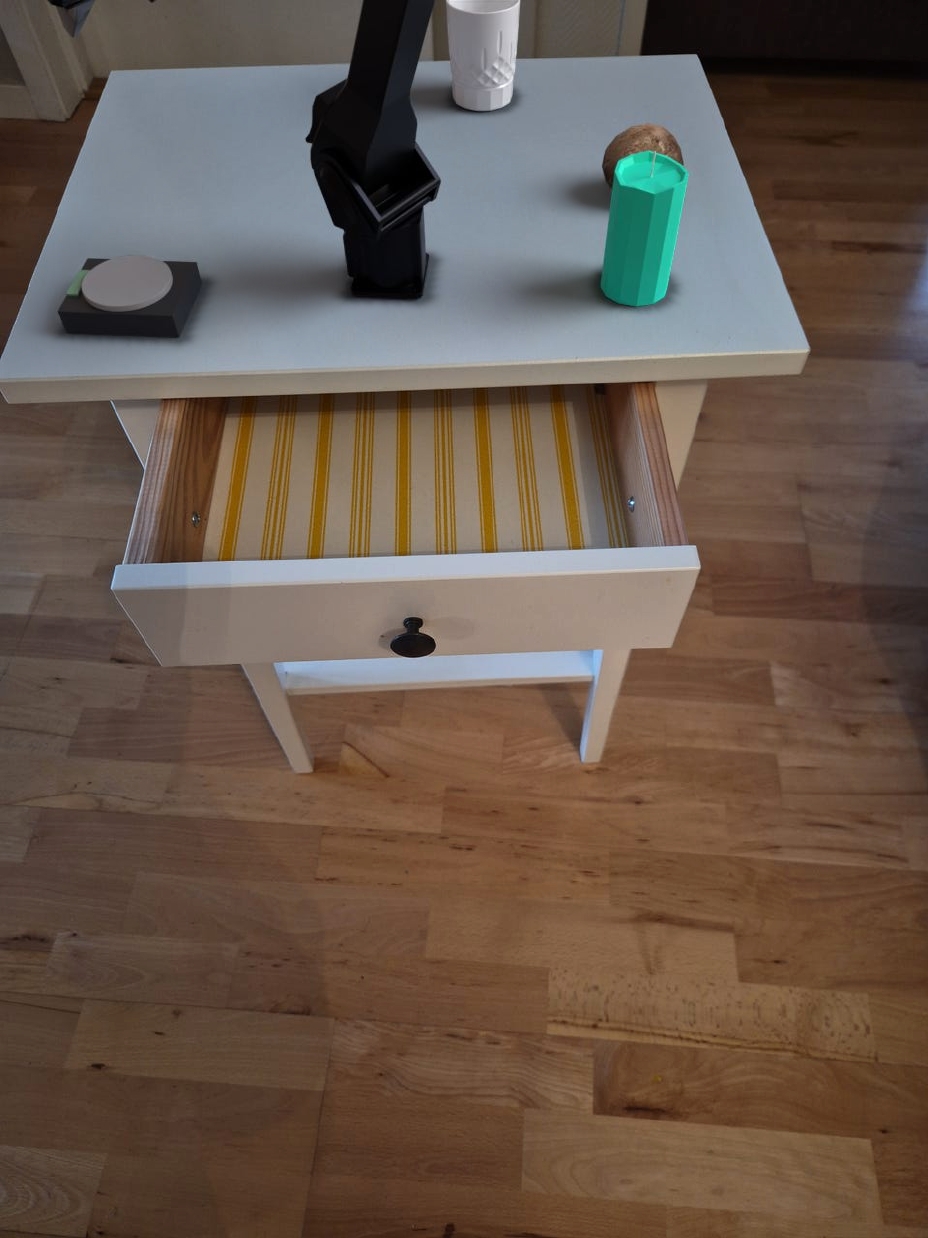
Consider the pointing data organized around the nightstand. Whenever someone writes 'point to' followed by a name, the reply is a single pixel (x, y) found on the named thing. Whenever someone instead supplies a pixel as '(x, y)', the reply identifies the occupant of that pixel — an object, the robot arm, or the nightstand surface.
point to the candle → (642, 227)
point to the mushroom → (639, 147)
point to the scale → (131, 297)
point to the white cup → (482, 51)
